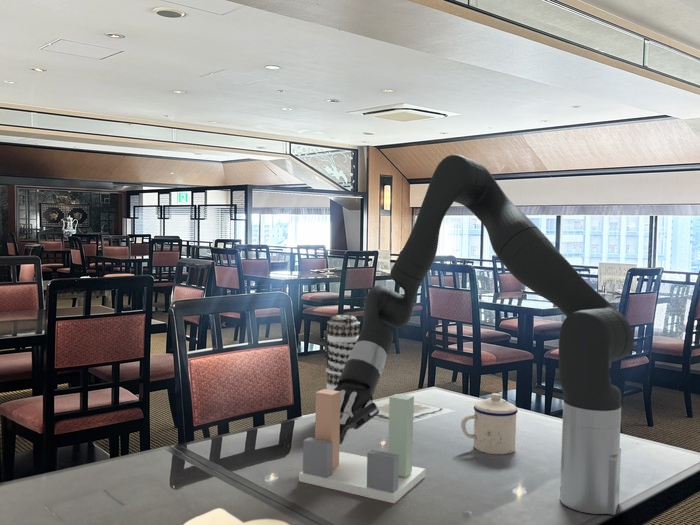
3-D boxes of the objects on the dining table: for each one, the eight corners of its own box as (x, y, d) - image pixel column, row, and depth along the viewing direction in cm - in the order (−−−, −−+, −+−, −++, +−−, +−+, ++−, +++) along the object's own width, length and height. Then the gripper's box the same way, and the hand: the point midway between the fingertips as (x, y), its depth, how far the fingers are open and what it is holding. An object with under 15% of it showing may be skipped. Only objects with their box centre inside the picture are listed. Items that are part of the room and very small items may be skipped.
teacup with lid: (505, 440, 145) (507, 388, 145) (523, 454, 136) (525, 399, 136) (453, 442, 143) (455, 389, 143) (468, 457, 134) (470, 400, 134)
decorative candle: (348, 426, 153) (350, 319, 152) (315, 419, 158) (317, 316, 157) (367, 417, 161) (370, 315, 160) (336, 411, 166) (338, 312, 165)
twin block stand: (425, 476, 123) (426, 437, 123) (394, 503, 111) (395, 459, 110) (336, 458, 132) (337, 421, 131) (298, 481, 120) (299, 440, 119)
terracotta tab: (339, 465, 123) (340, 391, 122) (331, 470, 120) (332, 394, 119) (322, 462, 124) (324, 388, 124) (314, 466, 122) (315, 392, 121)
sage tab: (412, 471, 120) (413, 396, 120) (405, 477, 118) (407, 399, 117) (394, 468, 122) (396, 393, 121) (387, 473, 119) (389, 397, 119)
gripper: (329, 354, 135) (295, 428, 125) (387, 361, 129) (357, 440, 118) (341, 375, 140) (310, 448, 130) (398, 382, 134) (370, 460, 123)
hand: (332, 444), depth 124 cm, fingers closed
